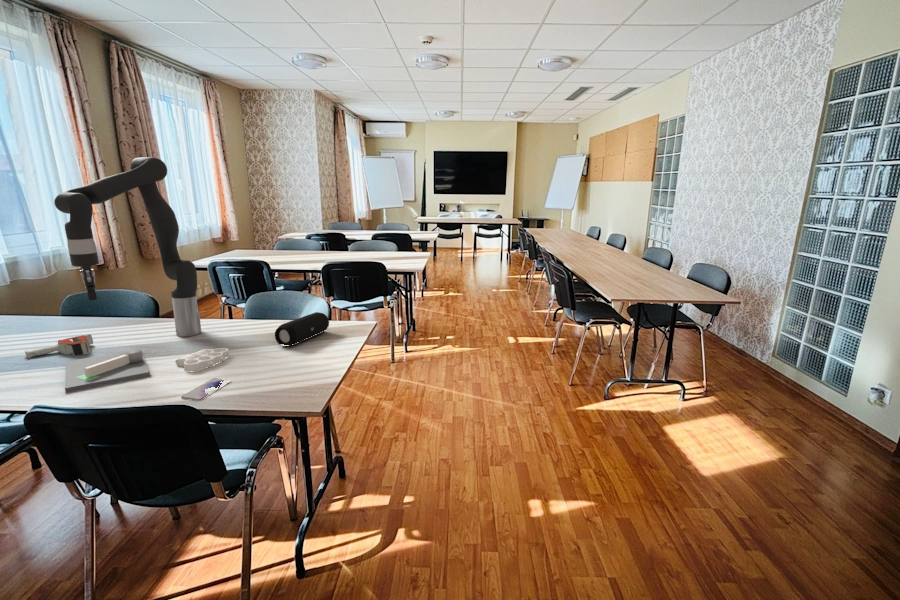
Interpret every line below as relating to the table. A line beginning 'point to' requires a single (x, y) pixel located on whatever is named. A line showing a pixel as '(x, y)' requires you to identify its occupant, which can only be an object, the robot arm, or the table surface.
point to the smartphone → (202, 390)
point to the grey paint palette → (203, 359)
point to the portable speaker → (301, 328)
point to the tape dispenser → (66, 347)
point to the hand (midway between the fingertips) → (92, 299)
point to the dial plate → (122, 373)
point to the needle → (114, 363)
